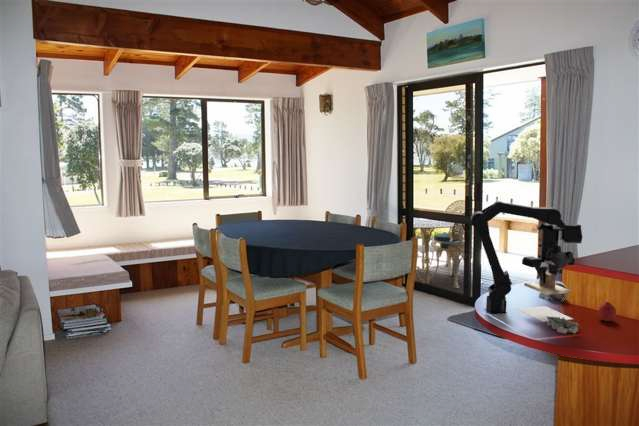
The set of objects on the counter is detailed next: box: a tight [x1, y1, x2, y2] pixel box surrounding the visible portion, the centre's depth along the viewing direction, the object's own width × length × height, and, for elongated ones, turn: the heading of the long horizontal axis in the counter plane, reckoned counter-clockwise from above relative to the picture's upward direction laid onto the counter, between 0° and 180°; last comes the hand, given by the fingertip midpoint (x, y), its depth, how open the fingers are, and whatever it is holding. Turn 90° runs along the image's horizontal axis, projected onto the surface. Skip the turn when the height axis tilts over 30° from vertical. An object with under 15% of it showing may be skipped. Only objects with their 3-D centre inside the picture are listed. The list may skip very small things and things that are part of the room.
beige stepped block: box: [523, 270, 572, 295], centre depth 203 cm, size 10×13×6 cm
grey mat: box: [515, 305, 574, 323], centre depth 206 cm, size 13×16×1 cm
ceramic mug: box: [538, 280, 569, 302], centre depth 227 cm, size 11×8×8 cm
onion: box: [597, 299, 617, 322], centre depth 198 cm, size 6×6×8 cm
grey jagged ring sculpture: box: [546, 316, 580, 336], centre depth 190 cm, size 11×8×4 cm
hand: (547, 283), depth 203 cm, fingers closed on beige stepped block, 3 cm apart
